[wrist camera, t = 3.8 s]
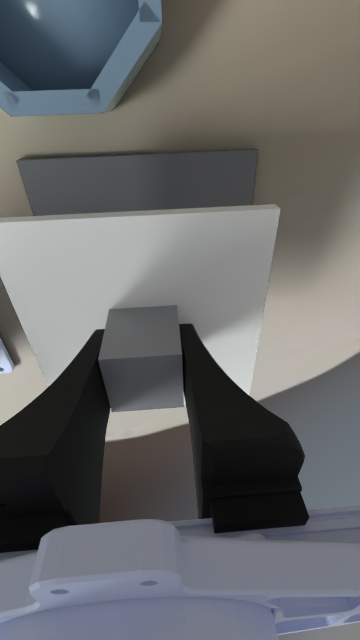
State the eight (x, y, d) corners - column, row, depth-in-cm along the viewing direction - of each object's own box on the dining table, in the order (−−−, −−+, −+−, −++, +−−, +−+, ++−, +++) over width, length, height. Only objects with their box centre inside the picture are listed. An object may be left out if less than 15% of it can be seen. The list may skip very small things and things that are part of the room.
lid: (62, 405, 18) (43, 468, 15) (-15, 218, 11) (-79, 262, 8) (246, 391, 18) (264, 451, 15) (275, 204, 12) (318, 241, 8)
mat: (76, 340, 24) (74, 345, 24) (19, 159, 16) (16, 160, 16) (236, 330, 24) (237, 334, 24) (255, 148, 17) (258, 150, 16)
